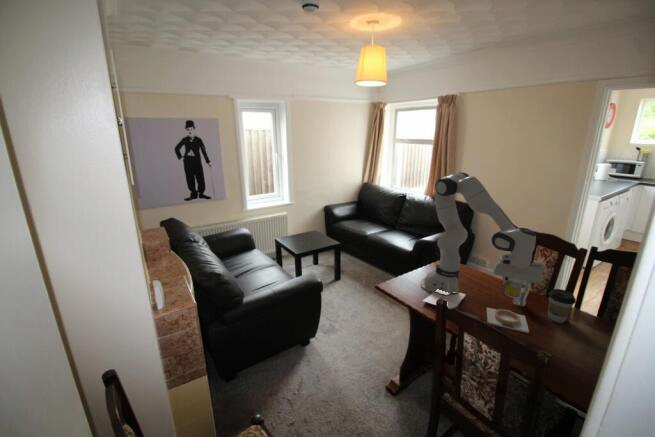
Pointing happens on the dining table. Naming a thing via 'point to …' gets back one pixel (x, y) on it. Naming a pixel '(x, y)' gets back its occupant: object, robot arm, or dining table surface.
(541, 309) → the dining table surface
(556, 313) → the coffee cup
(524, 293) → the beer glass
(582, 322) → the dining table surface
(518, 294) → the supplement bottle
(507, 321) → the ring socket
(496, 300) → the dining table surface
